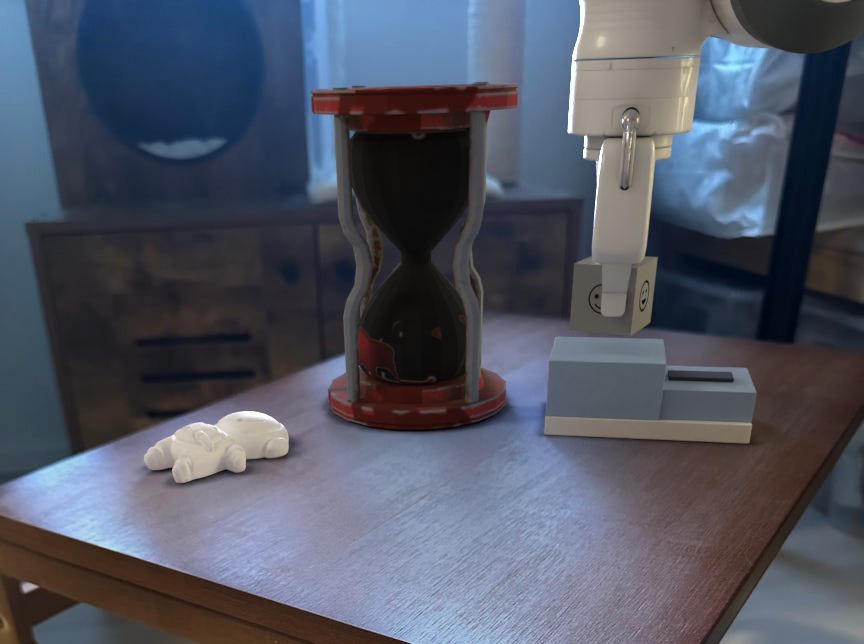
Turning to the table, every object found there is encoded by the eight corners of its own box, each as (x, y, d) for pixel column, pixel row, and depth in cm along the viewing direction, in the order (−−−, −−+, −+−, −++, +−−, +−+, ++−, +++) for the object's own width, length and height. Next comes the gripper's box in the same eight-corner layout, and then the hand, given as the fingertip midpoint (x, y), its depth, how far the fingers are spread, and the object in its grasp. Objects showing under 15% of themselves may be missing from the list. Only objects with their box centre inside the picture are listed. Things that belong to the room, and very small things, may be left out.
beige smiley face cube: (569, 330, 75) (574, 263, 73) (591, 317, 79) (596, 253, 76) (630, 336, 73) (637, 267, 70) (650, 322, 77) (657, 257, 74)
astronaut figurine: (128, 461, 75) (121, 424, 73) (253, 426, 81) (250, 392, 80) (185, 491, 69) (179, 451, 67) (315, 451, 75) (312, 414, 74)
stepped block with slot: (738, 411, 81) (750, 340, 78) (749, 443, 74) (762, 367, 71) (551, 404, 84) (555, 335, 81) (544, 434, 77) (548, 361, 74)
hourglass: (294, 401, 87) (270, 89, 74) (426, 369, 95) (425, 82, 83) (406, 445, 76) (400, 86, 63) (543, 403, 84) (563, 80, 72)
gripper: (683, 111, 59) (656, 337, 66) (671, 100, 76) (651, 281, 83) (580, 113, 60) (565, 335, 67) (591, 102, 77) (578, 280, 84)
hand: (612, 305), depth 75 cm, fingers closed on beige smiley face cube, 5 cm apart
